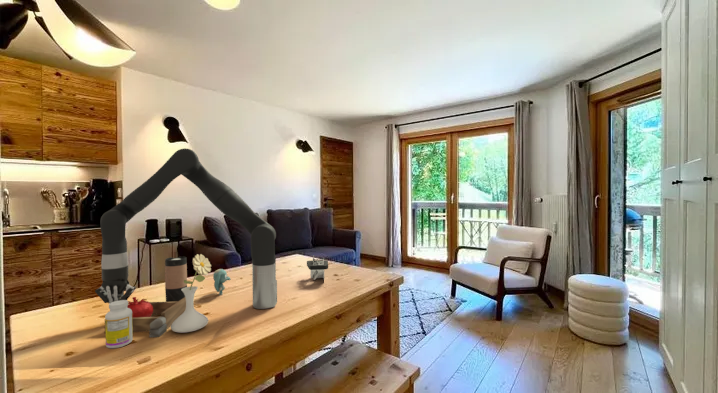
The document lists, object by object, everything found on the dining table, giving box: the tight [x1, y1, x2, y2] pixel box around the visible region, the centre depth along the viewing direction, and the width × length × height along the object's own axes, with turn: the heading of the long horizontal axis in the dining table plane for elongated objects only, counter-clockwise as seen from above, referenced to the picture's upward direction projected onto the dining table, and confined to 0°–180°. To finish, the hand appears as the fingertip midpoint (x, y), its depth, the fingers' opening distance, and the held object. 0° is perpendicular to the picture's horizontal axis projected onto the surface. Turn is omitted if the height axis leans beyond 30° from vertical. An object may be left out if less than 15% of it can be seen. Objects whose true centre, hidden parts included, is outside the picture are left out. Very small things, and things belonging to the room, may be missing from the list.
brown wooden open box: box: [132, 297, 186, 338], centre depth 111 cm, size 20×21×6 cm
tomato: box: [127, 296, 153, 318], centre depth 113 cm, size 10×10×9 cm
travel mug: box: [164, 256, 188, 302], centre depth 127 cm, size 8×8×20 cm
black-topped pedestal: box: [306, 255, 329, 281], centre depth 161 cm, size 28×26×13 cm
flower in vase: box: [170, 253, 212, 334], centre depth 108 cm, size 13×11×25 cm
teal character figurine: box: [212, 268, 231, 296], centre depth 142 cm, size 11×7×12 cm
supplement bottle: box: [104, 299, 134, 349], centre depth 96 cm, size 7×7×13 cm
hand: (116, 313), depth 112 cm, fingers closed
